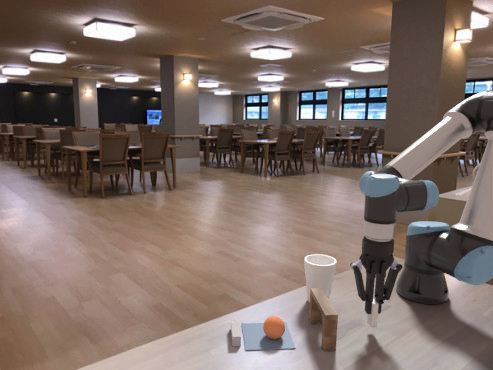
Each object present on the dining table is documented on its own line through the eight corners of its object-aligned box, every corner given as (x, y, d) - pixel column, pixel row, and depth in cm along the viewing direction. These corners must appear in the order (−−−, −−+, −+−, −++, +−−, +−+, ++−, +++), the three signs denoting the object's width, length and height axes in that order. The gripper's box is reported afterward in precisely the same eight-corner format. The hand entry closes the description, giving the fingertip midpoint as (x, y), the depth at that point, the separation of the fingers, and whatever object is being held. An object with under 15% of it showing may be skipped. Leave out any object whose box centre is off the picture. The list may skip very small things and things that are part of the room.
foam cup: (334, 310, 116) (336, 267, 113) (301, 306, 118) (303, 264, 115) (333, 295, 125) (336, 255, 123) (303, 292, 127) (305, 253, 124)
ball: (257, 321, 103) (270, 335, 104) (260, 333, 98) (275, 347, 99) (273, 307, 103) (286, 321, 104) (277, 318, 98) (292, 333, 99)
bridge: (319, 319, 111) (321, 287, 109) (335, 350, 96) (338, 314, 95) (308, 319, 110) (310, 288, 109) (323, 350, 96) (325, 315, 94)
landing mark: (286, 322, 108) (286, 322, 108) (295, 348, 97) (295, 348, 97) (241, 324, 107) (241, 323, 107) (245, 350, 96) (245, 349, 96)
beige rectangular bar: (238, 328, 105) (238, 319, 105) (240, 346, 98) (240, 336, 97) (230, 328, 105) (230, 319, 105) (232, 346, 97) (232, 336, 97)
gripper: (396, 231, 104) (389, 316, 108) (347, 232, 103) (342, 318, 107) (411, 241, 97) (402, 331, 101) (358, 242, 96) (352, 333, 100)
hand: (371, 324), depth 104 cm, fingers closed
